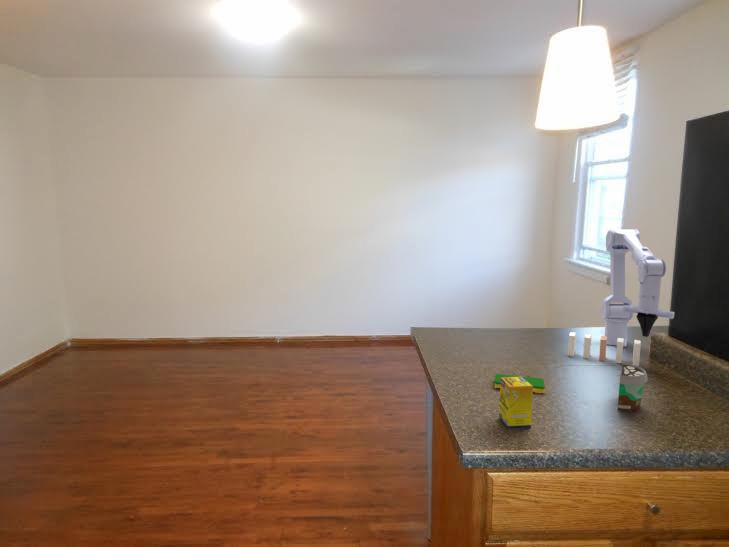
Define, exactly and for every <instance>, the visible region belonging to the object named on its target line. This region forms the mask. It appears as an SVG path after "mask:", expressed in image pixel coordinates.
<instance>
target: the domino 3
mask: <svg viewBox="0 0 729 547" xmlns="http://www.w3.org/2000/svg"><path fill="white" fill-rule="evenodd" d="M607 345H608V344H607V336H605V335H601V336H600V342H599V354H598V361H599V360H603V361H602V362H606V358H607V357H606V356H607Z"/></svg>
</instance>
